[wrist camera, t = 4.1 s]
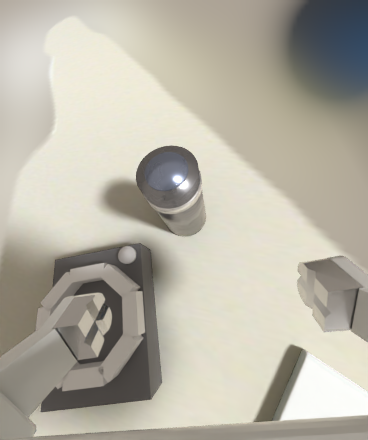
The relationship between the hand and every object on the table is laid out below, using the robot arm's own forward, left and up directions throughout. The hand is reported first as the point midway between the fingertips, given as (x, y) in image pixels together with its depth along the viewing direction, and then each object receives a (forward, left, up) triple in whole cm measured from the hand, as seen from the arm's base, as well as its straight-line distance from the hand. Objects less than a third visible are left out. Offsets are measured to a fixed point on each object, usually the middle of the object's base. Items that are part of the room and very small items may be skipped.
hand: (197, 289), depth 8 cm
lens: (+8, +1, -12) cm, 15 cm away
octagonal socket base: (-1, +10, -12) cm, 16 cm away
